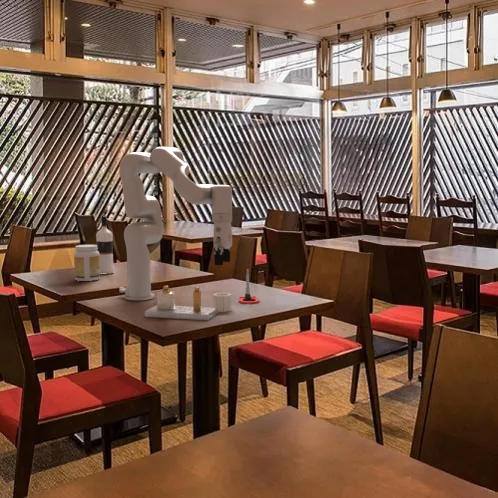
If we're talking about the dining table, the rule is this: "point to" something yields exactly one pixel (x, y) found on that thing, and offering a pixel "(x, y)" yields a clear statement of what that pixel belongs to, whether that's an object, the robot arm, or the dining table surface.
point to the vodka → (105, 247)
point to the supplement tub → (86, 263)
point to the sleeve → (222, 302)
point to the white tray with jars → (180, 307)
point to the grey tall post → (248, 293)
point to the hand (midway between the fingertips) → (222, 263)
